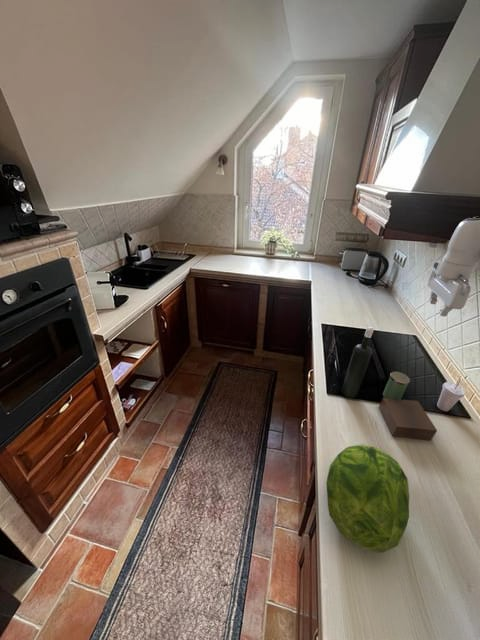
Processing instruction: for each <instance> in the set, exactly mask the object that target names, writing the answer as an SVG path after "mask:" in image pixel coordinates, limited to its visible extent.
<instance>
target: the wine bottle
mask: <svg viewBox="0 0 480 640" xmlns="http://www.w3.org/2000/svg"><path fill="white" fill-rule="evenodd" d="M374 330H375V328H374V327H373V326H368V325H367V326H366V329H365V332H364V336H363V339H362V343H359V344H357V345H355V346H354V347H353V350H352V354H351V358H350V361H349V363H348V367H347V371H346V373H345V377H344V380H343V383H342V386H341V390H340V391H341V394H342V395H343V396H344V397H345V398H347V399H355V398H357V396H358V394H359V391H360V388H361V386H362V383H363V380H364V377H365V375H366V371H367V369H368V366H369V363H370V360H371V356H372V355H373V349H372V348H371V347H370V346H369V344H370V341H371V338H372V337H373V333H374Z"/></svg>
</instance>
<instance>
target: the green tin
mask: <svg viewBox="0 0 480 640" xmlns="http://www.w3.org/2000/svg"><path fill="white" fill-rule="evenodd" d="M410 382H411V379H410V377H409V376H408V375H406V374H405V373H403V372H401V371H392V372H391V373H390V375H389V378H388V381H387V383H386V384H385V387H384V390H383V392H382V396H383V398H391V399H402V398H403V396H404V394H405V391H406V390H407V387H408V385H409V384H410Z"/></svg>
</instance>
